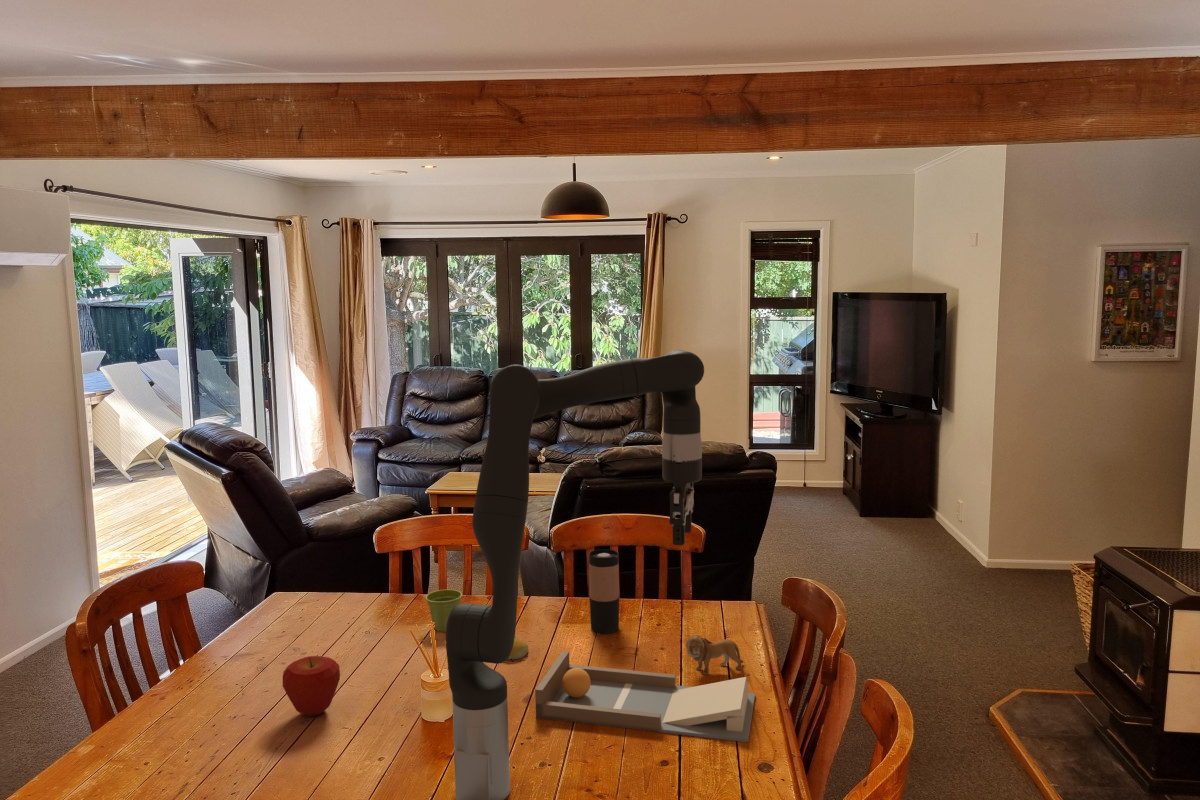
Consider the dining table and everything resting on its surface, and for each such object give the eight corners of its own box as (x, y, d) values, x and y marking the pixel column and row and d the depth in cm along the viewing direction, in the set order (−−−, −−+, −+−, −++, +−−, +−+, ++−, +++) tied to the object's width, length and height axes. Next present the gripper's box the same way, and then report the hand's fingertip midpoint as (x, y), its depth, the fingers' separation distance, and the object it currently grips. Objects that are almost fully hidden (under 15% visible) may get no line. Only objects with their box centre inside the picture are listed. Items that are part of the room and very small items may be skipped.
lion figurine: (693, 681, 182) (693, 642, 181) (681, 671, 187) (681, 633, 186) (749, 668, 188) (749, 630, 187) (736, 659, 193) (736, 622, 192)
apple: (282, 730, 163) (278, 672, 162) (287, 705, 174) (284, 650, 172) (340, 721, 166) (337, 665, 165) (342, 697, 177) (339, 643, 175)
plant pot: (419, 632, 211) (418, 599, 210) (437, 619, 220) (436, 587, 219) (452, 636, 209) (451, 603, 208) (469, 622, 218) (468, 590, 217)
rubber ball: (558, 673, 172) (586, 676, 170) (566, 661, 177) (593, 664, 176) (558, 701, 172) (586, 704, 171) (567, 688, 178) (593, 691, 177)
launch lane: (754, 699, 175) (755, 669, 174) (748, 746, 156) (748, 712, 156) (563, 679, 185) (562, 650, 184) (536, 721, 167) (535, 689, 166)
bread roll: (507, 664, 192) (507, 648, 192) (486, 652, 199) (485, 636, 199) (536, 653, 198) (535, 638, 197) (514, 643, 204) (513, 627, 204)
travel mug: (585, 626, 214) (583, 551, 211) (611, 621, 217) (610, 547, 215) (597, 636, 207) (596, 559, 205) (624, 631, 210) (623, 555, 208)
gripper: (668, 448, 164) (669, 527, 166) (655, 461, 151) (656, 547, 152) (706, 449, 162) (706, 529, 164) (696, 463, 149) (696, 550, 151)
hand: (682, 538), depth 158 cm, fingers open, 8 cm apart
